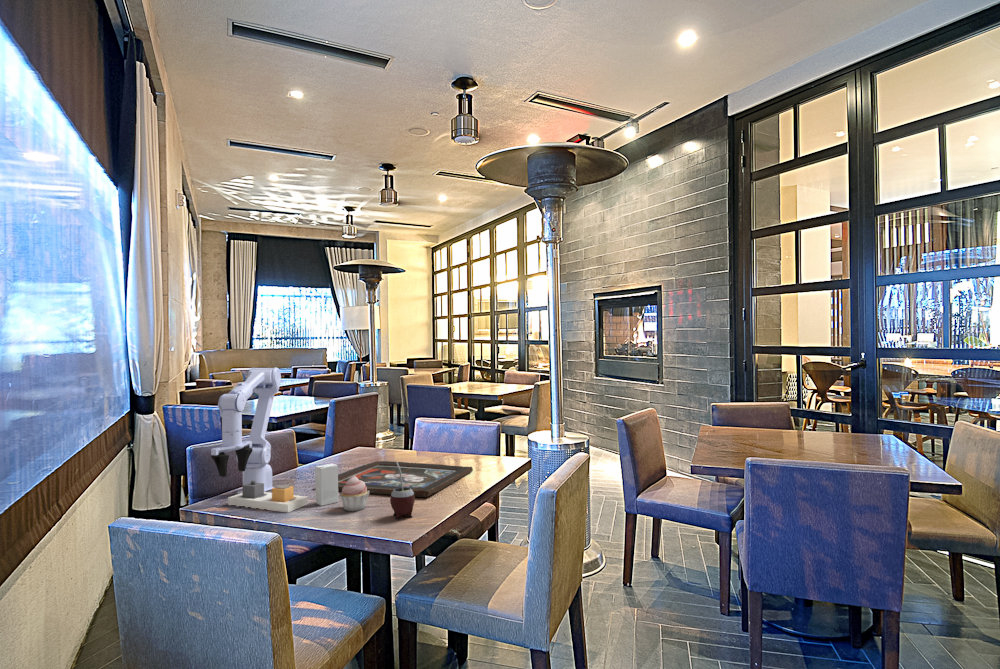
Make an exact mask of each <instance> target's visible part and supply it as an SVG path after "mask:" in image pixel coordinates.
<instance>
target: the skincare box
mask: <svg viewBox="0 0 1000 669" xmlns="http://www.w3.org/2000/svg"><path fill="white" fill-rule="evenodd" d="M338 467H339V465H337V464H335V463H332V462H331V463H327V464H321V465H315V467H314V474H315V475H314V476H315V478H314V480H315V481H314V482H315V483H314V484H315V503H316V504H317V505H319V506H326V505H327V506H328V505H331V504H335V503H339V491H338V475H339V468H338Z"/></svg>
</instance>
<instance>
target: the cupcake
mask: <svg viewBox="0 0 1000 669" xmlns="http://www.w3.org/2000/svg"><path fill="white" fill-rule="evenodd" d="M369 495H370V493H369V491H367V487H366V485H365V483H364V482H363V481H361V480H359V479H358V478H357V477H355V476H353V477H352V478H350V479H349V480H348V481H347V482H346V485H345V486H344V487H343V489H342V491H341V492H340V493H339V492H338V497H339V498H340V499H341V502H342V505H343V506H342V507H343V509H344V510H345V511H347V512H359V511H361V510H364V509H365V507H366V505H367V501H368V498H369Z"/></svg>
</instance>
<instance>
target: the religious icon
mask: <svg viewBox="0 0 1000 669" xmlns="http://www.w3.org/2000/svg"><path fill="white" fill-rule="evenodd" d="M396 462H398V464H399V466H400V470H401V473H402V474H401V475H402V483H403V487H408V488H411V489H412V491H413V492H414V496H415V498H416V497H417V498H418V497H419V498H427V497H430V496H431V495H434V494H435V493H437V492H440V491H441V490H443V489H445V488H446V487H448V486H449V485H450V486H453V485H454V486H456V483H455V482H456V481H458V480H460V479H461V478H463V477H465V476H467V475H469V474H470V473H472V472H473V470H474V468H473V466H461V465H447V464H439V463H438V464H437V463H423V462H420V463H419V462H407V461H406V462H404V461H389V460H380V461H379V460H377V461H372V462H370V463H366V464H363V465H360V466H358V467H354V468H352V469H349V470H347V471H344V472H341V473H338V492H342V489H343V487H344V486H345V485H346V482H347V481H348V480H349V479H350V478H352V477H353V476H355V477H357V478H358V479H359V480H361V481H363V482H364V483H365V485H366V487H367V491H369V494H376V495H378V494H379V495H390V496H391V493H392V492H393V490H394V489H396V488H400V487H401V481H400V474H399V469H398V466H397V464H396Z"/></svg>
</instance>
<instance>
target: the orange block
mask: <svg viewBox="0 0 1000 669" xmlns="http://www.w3.org/2000/svg"><path fill="white" fill-rule="evenodd" d="M271 493H272V501H277V502H287V501H289V500H291V499H294V495H295V494H294V486H291V485H284V484H283V485H282V484H280V485H277V486H275V487H274V488H272V489H271Z"/></svg>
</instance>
